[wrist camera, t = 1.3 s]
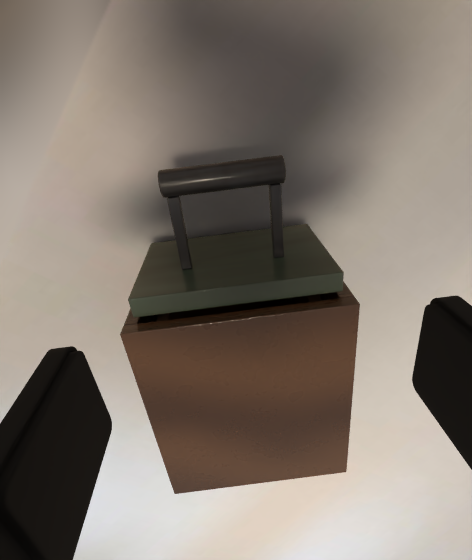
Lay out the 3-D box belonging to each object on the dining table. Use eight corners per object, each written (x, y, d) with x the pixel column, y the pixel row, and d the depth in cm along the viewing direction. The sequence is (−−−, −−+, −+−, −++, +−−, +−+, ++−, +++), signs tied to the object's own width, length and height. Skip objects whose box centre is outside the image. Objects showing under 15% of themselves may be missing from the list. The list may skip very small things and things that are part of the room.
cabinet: (149, 257, 26) (119, 334, 18) (312, 237, 26) (360, 304, 18) (184, 392, 33) (174, 494, 24) (312, 376, 33) (346, 472, 25)
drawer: (130, 161, 22) (93, 190, 15) (306, 139, 22) (349, 158, 15) (184, 379, 31) (177, 459, 24) (308, 363, 31) (335, 439, 24)
